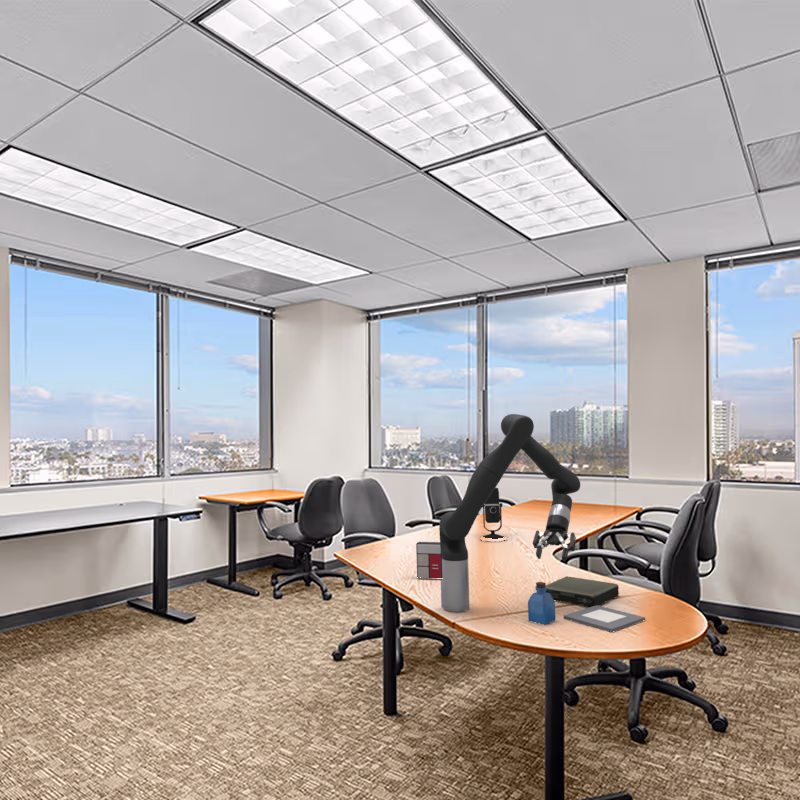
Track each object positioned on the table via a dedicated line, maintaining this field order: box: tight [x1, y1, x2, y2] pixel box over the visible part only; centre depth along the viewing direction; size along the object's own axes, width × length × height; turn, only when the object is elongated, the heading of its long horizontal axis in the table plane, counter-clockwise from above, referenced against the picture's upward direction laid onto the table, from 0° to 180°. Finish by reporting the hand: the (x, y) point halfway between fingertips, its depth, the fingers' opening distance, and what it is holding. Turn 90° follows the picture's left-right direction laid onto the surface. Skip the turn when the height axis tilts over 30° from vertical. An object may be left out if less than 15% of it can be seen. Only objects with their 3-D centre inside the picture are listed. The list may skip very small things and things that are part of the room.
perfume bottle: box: [527, 581, 556, 626], centre depth 193 cm, size 6×6×12 cm
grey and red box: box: [415, 541, 443, 578], centre depth 253 cm, size 11×4×15 cm, turn 76°
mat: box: [562, 605, 646, 633], centre depth 192 cm, size 18×18×1 cm
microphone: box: [482, 487, 505, 539], centre depth 343 cm, size 16×16×30 cm
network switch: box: [545, 575, 620, 608], centre depth 219 cm, size 23×24×5 cm
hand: (550, 558), depth 203 cm, fingers open, 8 cm apart
